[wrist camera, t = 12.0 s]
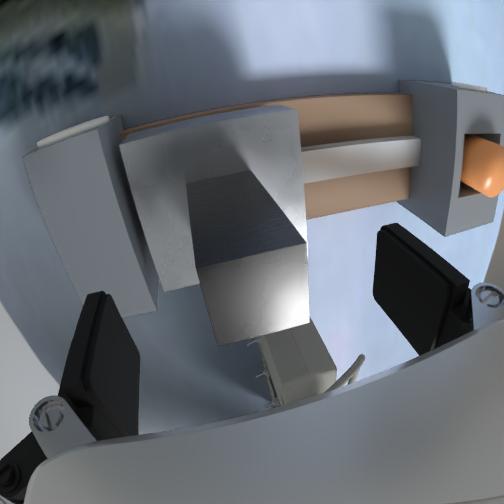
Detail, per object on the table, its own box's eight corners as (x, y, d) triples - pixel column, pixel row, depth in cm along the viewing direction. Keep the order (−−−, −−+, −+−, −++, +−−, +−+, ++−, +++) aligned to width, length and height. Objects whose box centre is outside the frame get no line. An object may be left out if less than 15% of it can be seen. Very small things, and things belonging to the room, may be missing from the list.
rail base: (448, 182, 24) (466, 193, 22) (102, 256, 21) (96, 276, 19) (452, 95, 20) (474, 100, 18) (65, 148, 17) (52, 158, 15)
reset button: (469, 174, 20) (506, 194, 17) (439, 178, 20) (478, 200, 16) (473, 129, 18) (513, 145, 15) (442, 130, 18) (484, 146, 15)
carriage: (290, 233, 20) (368, 348, 12) (164, 262, 19) (167, 401, 11) (277, 104, 16) (388, 141, 8) (128, 134, 15) (72, 204, 7)
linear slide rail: (447, 192, 25) (493, 221, 20) (107, 267, 22) (93, 324, 17) (452, 80, 20) (507, 92, 15) (60, 129, 16) (20, 151, 11)
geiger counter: (276, 442, 12) (298, 518, 26) (404, 394, 13) (353, 500, 26) (227, 270, 24) (268, 424, 37) (307, 249, 25) (315, 410, 38)
